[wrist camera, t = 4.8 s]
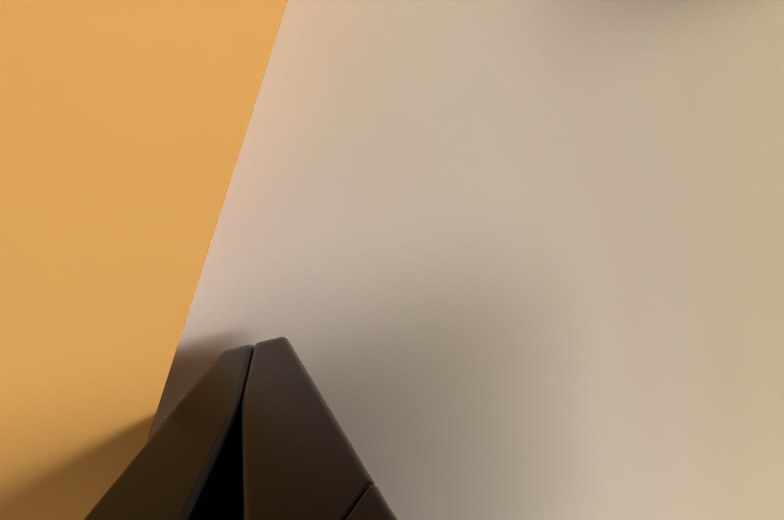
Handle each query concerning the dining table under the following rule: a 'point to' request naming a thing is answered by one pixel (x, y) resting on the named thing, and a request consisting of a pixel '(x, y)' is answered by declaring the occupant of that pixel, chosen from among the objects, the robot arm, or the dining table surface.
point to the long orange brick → (107, 221)
